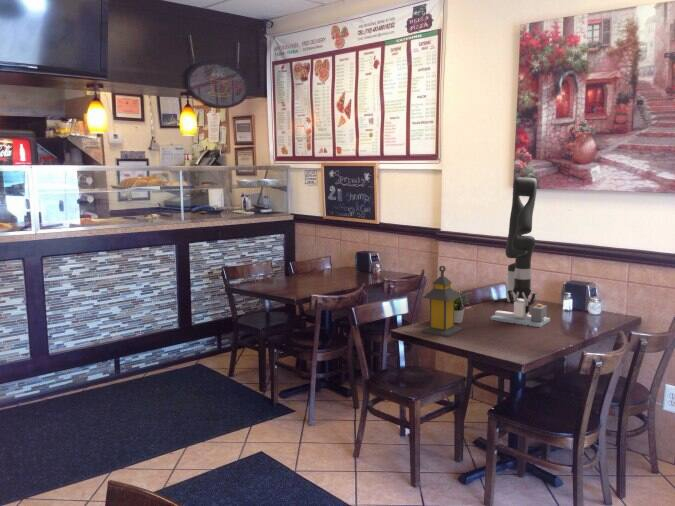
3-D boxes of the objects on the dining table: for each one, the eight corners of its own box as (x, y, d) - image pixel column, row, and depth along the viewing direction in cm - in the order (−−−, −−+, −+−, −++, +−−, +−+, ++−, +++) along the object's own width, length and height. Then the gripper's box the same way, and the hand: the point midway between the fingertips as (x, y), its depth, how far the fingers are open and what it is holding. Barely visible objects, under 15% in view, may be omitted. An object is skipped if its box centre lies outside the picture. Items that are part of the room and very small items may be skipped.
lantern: (436, 325, 283) (436, 262, 278) (463, 330, 274) (464, 265, 269) (420, 332, 272) (420, 266, 268) (447, 337, 263) (448, 269, 259)
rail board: (502, 314, 302) (502, 296, 301) (550, 321, 287) (550, 302, 286) (490, 319, 291) (491, 301, 290) (539, 327, 276) (540, 307, 275)
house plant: (472, 326, 279) (473, 292, 277) (442, 325, 282) (443, 291, 280) (472, 319, 293) (472, 286, 291) (443, 318, 296) (443, 285, 293)
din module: (520, 312, 293) (520, 299, 292) (529, 314, 290) (529, 300, 289) (513, 316, 287) (514, 302, 286) (523, 317, 284) (523, 303, 283)
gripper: (540, 277, 284) (539, 312, 287) (511, 274, 293) (510, 309, 295) (534, 280, 279) (533, 316, 281) (505, 277, 287) (504, 312, 290)
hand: (521, 312), depth 288 cm, fingers closed on din module, 4 cm apart
